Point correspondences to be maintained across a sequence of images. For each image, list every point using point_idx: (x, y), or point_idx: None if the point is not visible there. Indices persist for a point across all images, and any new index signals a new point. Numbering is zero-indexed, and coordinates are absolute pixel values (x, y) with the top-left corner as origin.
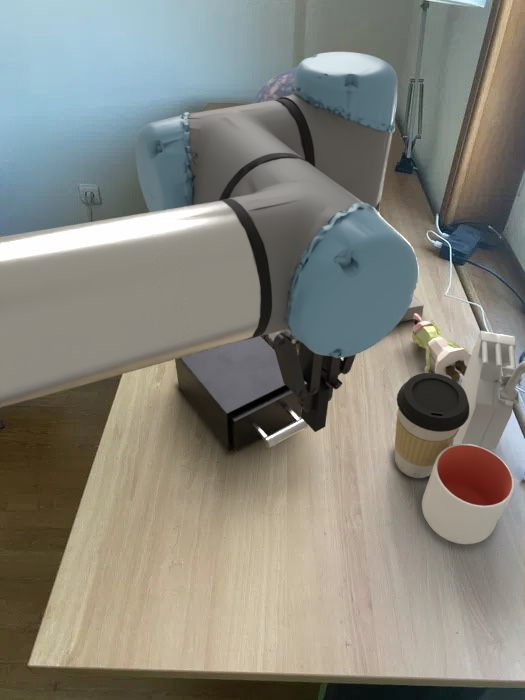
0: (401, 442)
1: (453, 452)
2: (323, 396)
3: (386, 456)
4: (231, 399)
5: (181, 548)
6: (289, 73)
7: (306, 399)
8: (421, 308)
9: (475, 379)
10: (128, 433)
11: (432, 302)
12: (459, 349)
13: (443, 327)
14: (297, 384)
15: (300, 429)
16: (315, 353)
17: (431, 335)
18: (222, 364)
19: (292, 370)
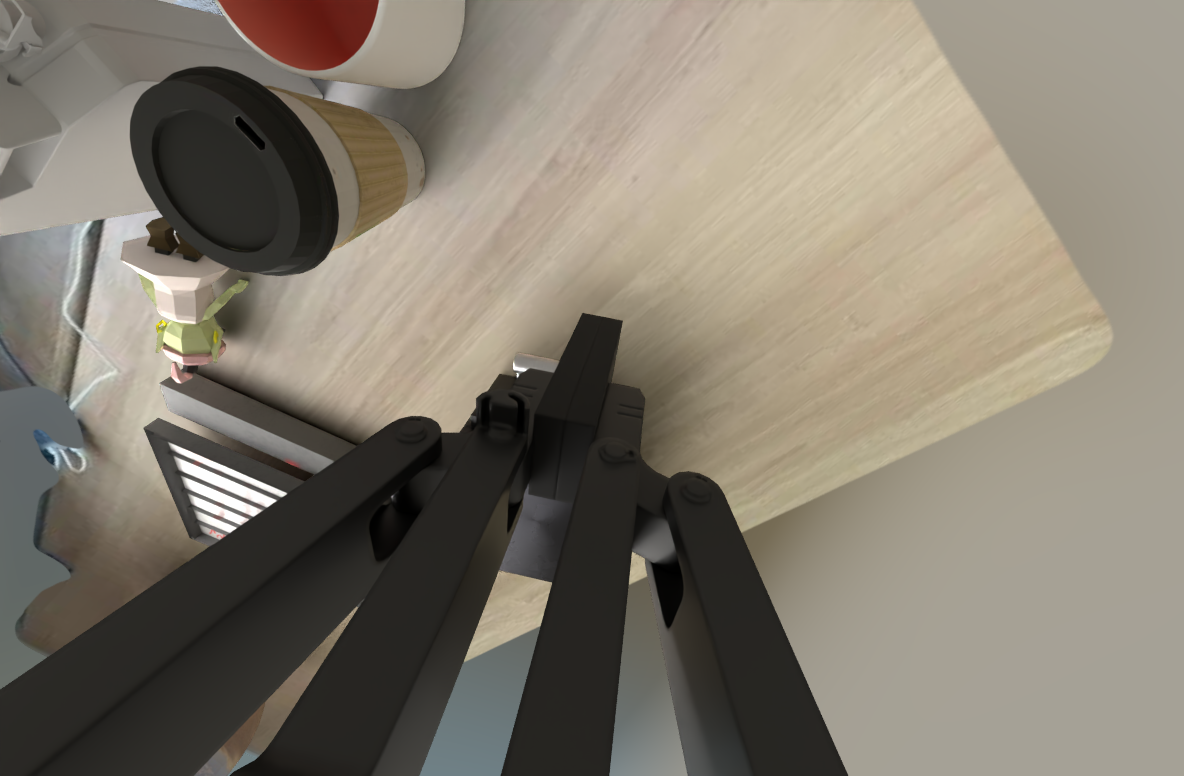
0: (388, 190)
1: (296, 62)
2: (573, 400)
3: (427, 211)
4: None
5: (826, 336)
6: None
7: (640, 436)
8: (168, 381)
9: (91, 148)
10: None
11: (148, 375)
12: (132, 265)
13: None
14: (737, 568)
15: (532, 357)
16: (591, 770)
17: (179, 330)
18: (556, 532)
19: (817, 743)
